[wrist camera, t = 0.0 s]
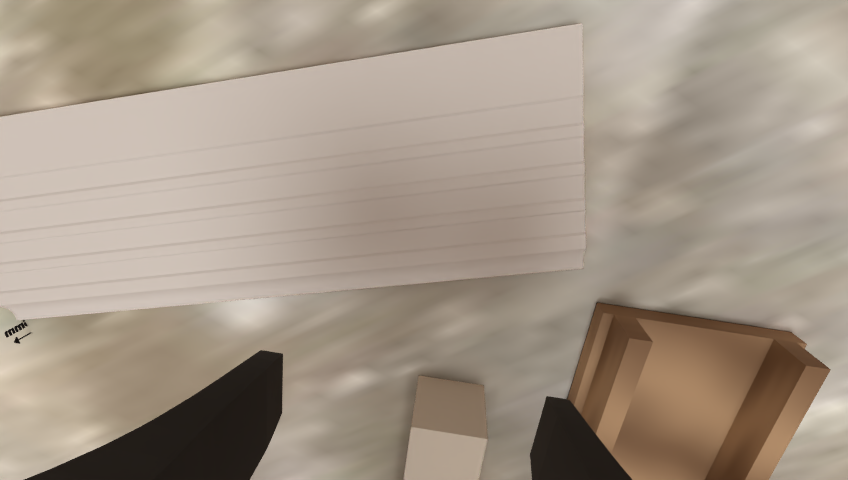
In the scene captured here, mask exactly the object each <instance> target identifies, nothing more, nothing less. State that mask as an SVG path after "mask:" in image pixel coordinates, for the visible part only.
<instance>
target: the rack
mask: <svg viewBox="0 0 848 480" xmlns="http://www.w3.org/2000/svg"><path fill="white" fill-rule="evenodd" d="M806 345H807V344H806V343H805V342H803V341H802V340H801V339H800V338H798V337H797V336H796V335H794V334H793V333H792V332H786V331H779V330H773V329H766V328H760V327H753V326H747V325H740V324H734V323H727V322H721V321H714V320H707V319H701V318H694V317H688V316H681V315H675V314H668V313H662V312H655V311H649V310H642V309H636V308H629V307H623V306H616V305H609V304H603V303H597V304H596V308H595V311H594V314H593V317H592V321H591V324H590V327H589V330H588V334H587V337H586V340H585V343H584V347H583V350H582V353H581V356H580V360H579V363H578V366H577V369H576V373H575V376H574V379H573V382H572V386H571V389H570V392H569V395H568V399H567V400H570V401H571V402H572V404H573V405H574V406H575V407H576V409H577V410H578V411H579V413H580V414H581V415H582V417H583V418H584V419H585V421H586V422H587V423H588V425H589V426H590V427H591V429H592V430H593V431H594V432H595V434H596V435H597V436H598V438H599V439H600V440H601V442H602V443H603V444H604V445H605V447H606V448H607V449H608V451H609V452H610V453H611V454H612V456H613V457H614V458H615V459H616V460H617V462H618V463H619V464H620V465H621V467H622V468H623V469H624V470H625V471H626V473H627V474H628V475H629V476H630V477H631V479H632V480H769V478H770V476H771V474H772V473H773V471H774V469H775V467H776V466H777V464H778V462H779V460H780V458H781V457H782V455H783V453H784V451H785V450H786V448H787V446H788V444H789V442H790V441H791V439H792V437H793V435H794V434H795V432H796V430H797V428H798V427H799V425H800V423H801V421H802V419H803V418H804V416H805V414H806V412H807V411H808V409H809V407H810V405H811V403H812V402H813V400H814V398H815V396H816V395H817V393H818V391H819V389H820V388H821V386H822V384H823V382H824V380H825V379H826V377H827V375H828V373H829V372H830V370H831V369H829V368H828V367H827V366H825V365H824V364H823V363H822V362H820V361H819V360H818V359H816V358H815V357H814V356H813V355H811V354H810V353H809V352H808V351H806V350H805V347H806Z"/></svg>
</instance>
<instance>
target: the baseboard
mask: <svg viewBox="0 0 848 480" xmlns="http://www.w3.org/2000/svg"><path fill="white" fill-rule="evenodd" d="M583 96H584V87H583V29H582V23H580V24H574V25H567V26H561V27H555V28H549V29H542V30H536V31H530V32H524V33H518V34H511V35H505V36H499V37H493V38H487V39H480V40H474V41H468V42H462V43H455V44H449V45H443V46H437V47H431V48H424V49H418V50H412V51H406V52H400V53H393V54H387V55H381V56H375V57H368V58H362V59H356V60H350V61H344V62H337V63H331V64H325V65H319V66H313V67H306V68H300V69H294V70H288V71H281V72H275V73H269V74H263V75H257V76H250V77H244V78H238V79H232V80H226V81H219V82H213V83H207V84H201V85H194V86H188V87H182V88H176V89H170V90H163V91H157V92H151V93H145V94H139V95H132V96H126V97H120V98H114V99H107V100H101V101H95V102H89V103H83V104H76V105H70V106H64V107H58V108H52V109H45V110H39V111H33V112H27V113H20V114H14V115H8V116H2V117H0V307H3V308H6V309H8V310H10V311H11V312H13V314H14V315H15V317H16V319H17V320H23V322H24V321H25V320H26V319H37V318H48V317H59V316H70V315H81V314H92V313H102V312H113V311H124V310H135V309H146V308H157V307H168V306H179V305H190V304H201V303H212V302H223V301H234V300H245V299H256V298H267V297H278V296H289V295H300V294H310V293H321V292H332V291H343V290H354V289H365V288H376V287H387V286H398V285H409V284H420V283H431V282H442V281H453V280H464V279H475V278H486V277H497V276H507V275H518V274H529V273H540V272H551V271H562V270H573V269H583V257H584V252H585V250H586V232H585V210H586V205H585V179H584V175H585V162H584V122H583ZM20 325H21V326H22V328H25V326H27V324H26V322H24V324H23V323H21V324H19V325H18V326H15V327H14V328H15V330H16V332H18V329H17V327H18V328H19V330H22V328H21V326H20ZM24 325H25V326H24ZM14 328H12V329H9V330H8V331H6V332H5V335H6V337H9V335H10V336H11V335H12V333H11V330H12V332H13V334H14V333H16V332H15V330H14ZM7 332H8V333H9V335H8V333H7ZM30 333H31V332H30ZM30 333H29V334H30ZM29 334H27V335H29ZM27 335H25V336H27ZM25 336H23V337H25ZM23 337H22V338H23ZM22 338H20V339H22ZM20 339H18V338H17V337H16V339H15V341H14V342H15V343H19V344H20V342H19V340H20Z"/></svg>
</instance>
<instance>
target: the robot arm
mask: <svg viewBox="0 0 848 480" xmlns="http://www.w3.org/2000/svg"><path fill="white" fill-rule="evenodd" d="M282 375H283V354H281V353H275V352H269V351H262V350H261V351H259V352H258V353H256V354H255V355H253V356H252V357H250V358H249V359H247V360H246V361H244V362H243V363H241V364H240V365H238V366H237V367H236V368H234V369H233V370H231V371H230V372H228V373H227V374H225V375H224V376H222V377H221V378H219V379H218V380H216V381H215V382H213V383H212V384H210V385H209V386H207V387H206V388H204V389H203V390H201V391H200V392H198V393H197V394H195V395H194V396H192V397H190V398H189V399H187V400H185V401H184V402H182V403H180V404H179V405H177V406H175V407H174V408H172V409H170V410H169V411H167V412H165V413H164V414H162V415H160V416H159V417H157V418H155V419H154V420H152V421H150V422H148V423H146V424H145V425H143V426H141V427H139V428H137V429H135V430H133V431H131V432H129V433H127V434H125V435H123V436H122V437H120V438H118V439H116V440H114V441H112V442H110V443H108V444H106V445H103V446H101V447H99V448H97V449H95V450H93V451H90V452H88V453H86V454H84V455H81V456H79V457H77V458H75V459H72V460H70V461H68V462H66V463H63V464H61V465H59V466H57V467H54V468H52V469H50V470H47V471H45V472H42V473H40V474H37V475H35V476H32V477H30V478H27V479H25V480H250V478H251V476H252V474H253V473H254V471H255V469H256V467H257V466H258V464H259V462H260V460H261V459H262V457H263V455H264V453H265V451H266V449H267V447H268V445H269V443H270V441H271V438H272V436H273V434H274V431H275V429H276V426H277V424H278V422H279V419H280V417H281V414H282ZM530 458H531V471H532V480H632V479H631V477H630V476H629V475H628V474H627V473H626V471H625V470H624V469H623V468H622V467H621V465H620V464H619V463H618V462H617V460H616V459H615V458H614V457H613V456H612V454H611V453H610V452H609V451H608V449H607V448H606V447H605V445H604V444H603V443H602V442H601V440H600V439H599V438H598V436H597V435H596V434H595V432H594V431H593V430H592V429H591V427H590V426H589V425H588V423H587V422H586V421H585V419H584V418H583V417H582V415H581V414H580V413H579V411H578V410H577V409H576V407H575V406H574V405H573V404H572V402H571V401H570V400H567V399H560V398H554V397H548V396H547V397H546V401H545V404H544V408H543V411H542V415H541V418H540V422H539V425H538V429H537V432H536V436H535V439H534V443H533V446H532V450H531V453H530Z"/></svg>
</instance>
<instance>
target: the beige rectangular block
mask: <svg viewBox="0 0 848 480" xmlns="http://www.w3.org/2000/svg"><path fill="white" fill-rule="evenodd" d="M487 440H488V436H487V422H486V407H485V393H484V385H478V384H471V383H465V382H458V381H452V380H445V379H439V378H433V377H426V376H420V375H419V377H418V384H417V391H416V397H415V404H414V411H413V417H412V424H411V431H410V438H409V445H408V452H407V459H406V466H405V473H404V480H479V475H480V471H481V467H482V462H483V458H484V453H485V449H486V445H487Z"/></svg>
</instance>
